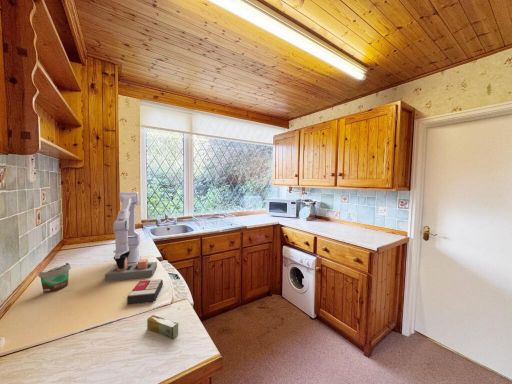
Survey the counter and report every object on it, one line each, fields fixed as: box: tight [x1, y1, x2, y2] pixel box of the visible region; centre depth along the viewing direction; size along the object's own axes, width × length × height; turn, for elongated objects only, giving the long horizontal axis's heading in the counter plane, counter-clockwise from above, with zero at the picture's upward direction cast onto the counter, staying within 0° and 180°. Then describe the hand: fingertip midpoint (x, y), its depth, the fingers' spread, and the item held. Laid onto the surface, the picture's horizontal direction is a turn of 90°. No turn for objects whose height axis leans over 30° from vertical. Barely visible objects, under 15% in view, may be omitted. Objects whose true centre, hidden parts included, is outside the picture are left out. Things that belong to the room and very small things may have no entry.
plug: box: [115, 257, 129, 271], centre depth 116 cm, size 4×4×6 cm
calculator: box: [126, 279, 164, 306], centre depth 97 cm, size 11×4×15 cm
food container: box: [38, 262, 72, 294], centre depth 102 cm, size 12×6×10 cm, turn 168°
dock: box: [104, 258, 158, 282], centre depth 117 cm, size 12×22×7 cm, turn 104°
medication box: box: [146, 314, 179, 340], centre depth 73 cm, size 12×3×4 cm, turn 67°
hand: (122, 266), depth 116 cm, fingers closed on plug, 4 cm apart
